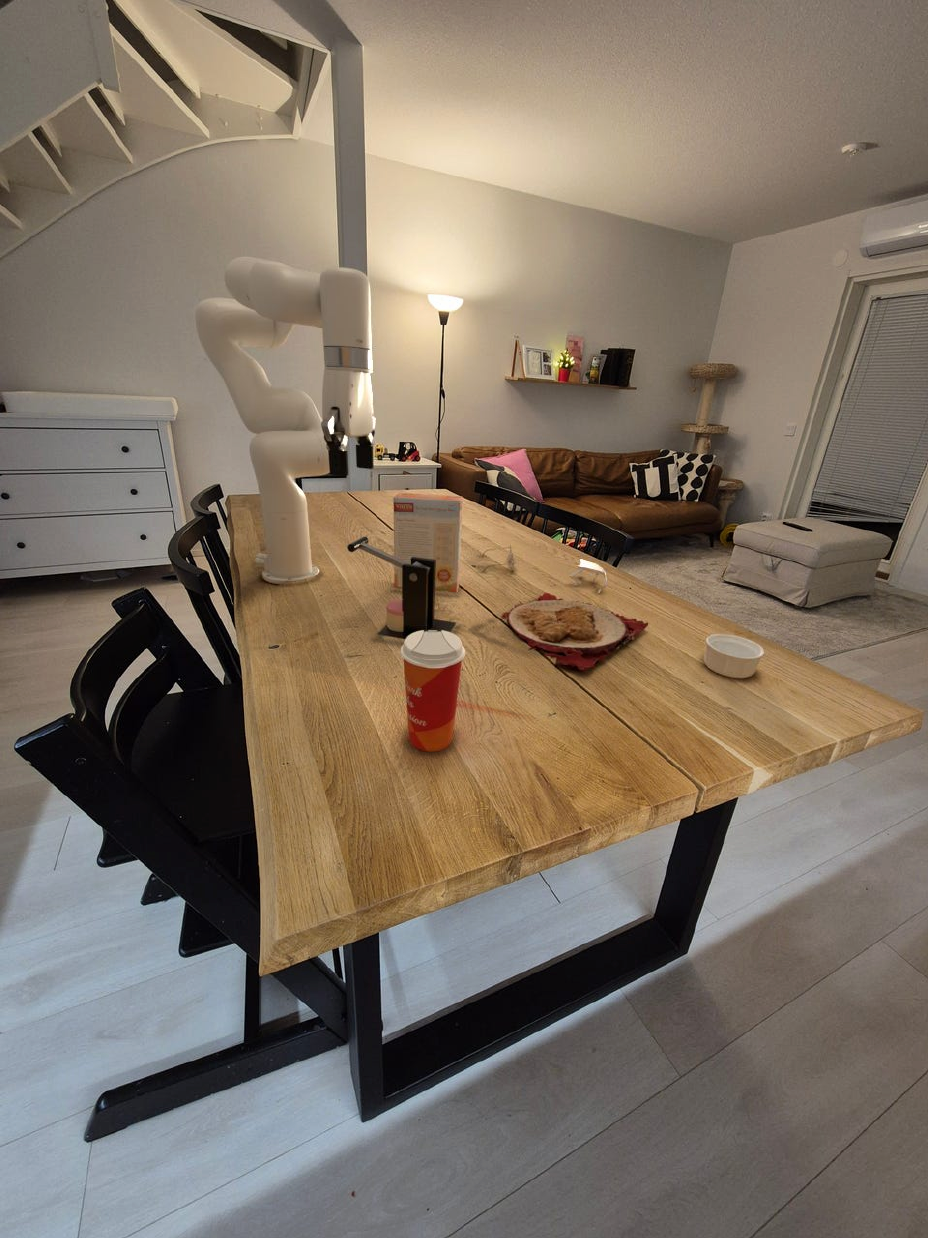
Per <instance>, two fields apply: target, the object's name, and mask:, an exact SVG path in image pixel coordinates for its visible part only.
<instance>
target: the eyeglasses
mask: <svg viewBox="0 0 928 1238" xmlns="http://www.w3.org/2000/svg"><path fill="white" fill-rule="evenodd" d="M502 549H504V550H505V549H509V554H508V555H507V556H508V560H509V562H508V563H507V562H506V563H501V564H499V566H504V565H511V568H512V572H514V571H515V563H516V562H515V556H514V555H515V554H514V553H513V548H512V545H510V546H507V547H500V548H498V550H502ZM494 550H496V548H492V549H490V551H494ZM488 551H489V549H486V550H485V551H484V552H483V554H482V555H481V557H484V555H485V554H486V552H488ZM495 566H497V564H493V565H487V566H486V567H485V568H484V570H483V571H482V573H484V572H485V571H486V570H487V568H489V567H495Z"/></svg>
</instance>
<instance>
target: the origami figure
mask: <svg viewBox="0 0 928 1238" xmlns="http://www.w3.org/2000/svg"><path fill="white" fill-rule="evenodd" d="M579 562H580V563H579V565H577V567H576V568H577V569H576V570H574V571H572V572H571V573H570V574H569V575H568V577H570V578H571V579H572V580H574V581H575V582H576V583H573V584H571V586H572V587H576V586H577V585H580V584H582V582H581V581H580V580H579V579H582V574H583V571H587V572H592V573H595V575H594V577H593V579H592V581H593V583H594V584H596V579H597V578H598V576H599V575H603V582H604V583H603V586H601V587H599V590H598V591H597V594H600V593H601V592H602V590H603V589H605V588H606V587H607V586H608V578H607V573H606V570H605V569H604V568H603V567H602V566H601V565H599V564H598V563H596V562H592V561H589V560H585V559H580V560H579ZM578 574H579V579H578V578H577V577H576V576H577V575H578Z"/></svg>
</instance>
